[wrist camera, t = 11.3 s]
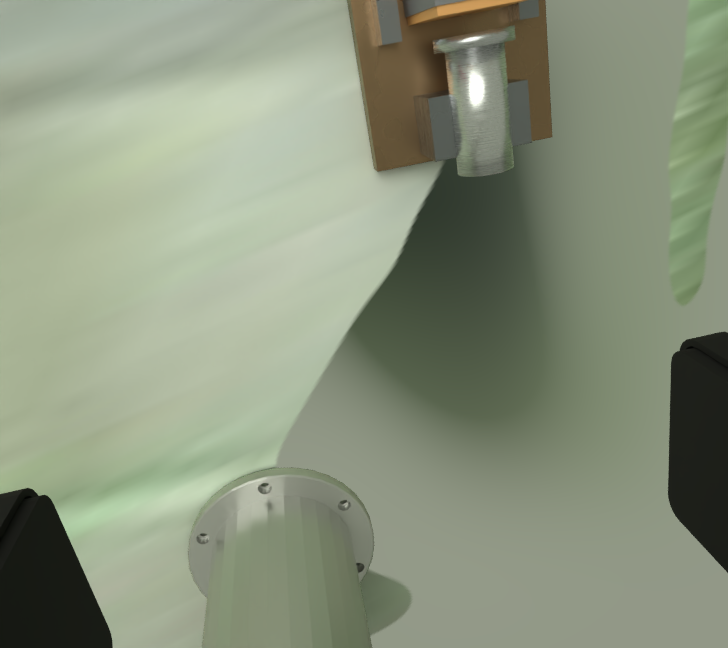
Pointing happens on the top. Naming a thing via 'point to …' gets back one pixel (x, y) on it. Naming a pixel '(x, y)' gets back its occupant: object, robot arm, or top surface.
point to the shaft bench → (452, 84)
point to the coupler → (448, 8)
